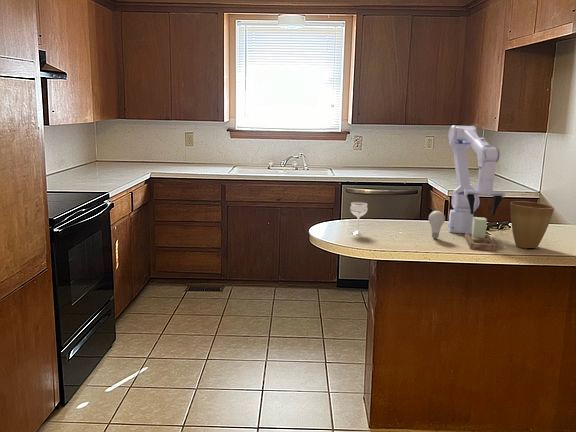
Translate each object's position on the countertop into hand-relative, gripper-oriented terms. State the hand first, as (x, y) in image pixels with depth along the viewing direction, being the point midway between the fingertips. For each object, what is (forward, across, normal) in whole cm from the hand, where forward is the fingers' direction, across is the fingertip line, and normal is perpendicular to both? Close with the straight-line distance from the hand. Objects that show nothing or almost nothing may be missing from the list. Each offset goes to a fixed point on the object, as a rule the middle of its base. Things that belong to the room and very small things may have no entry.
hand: (482, 214), depth 211 cm
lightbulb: (+11, -17, -1) cm, 20 cm away
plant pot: (+11, +16, -4) cm, 20 cm away
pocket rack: (+10, -1, -5) cm, 11 cm away
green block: (+10, -1, 0) cm, 11 cm away
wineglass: (+11, -47, 0) cm, 48 cm away
